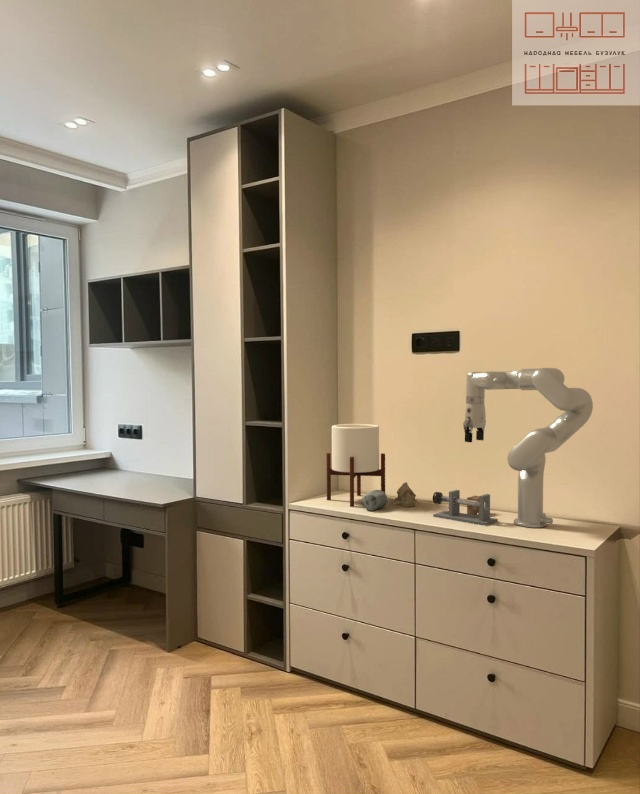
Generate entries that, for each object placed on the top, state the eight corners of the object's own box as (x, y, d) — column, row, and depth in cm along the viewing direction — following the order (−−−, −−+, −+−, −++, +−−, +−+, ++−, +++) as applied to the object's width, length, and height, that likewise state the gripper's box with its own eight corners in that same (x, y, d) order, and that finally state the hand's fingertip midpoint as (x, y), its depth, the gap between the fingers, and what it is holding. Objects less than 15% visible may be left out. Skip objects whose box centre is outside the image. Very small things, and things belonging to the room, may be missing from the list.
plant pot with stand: (359, 494, 310) (359, 423, 309) (389, 501, 292) (388, 426, 291) (322, 499, 298) (322, 425, 297) (351, 507, 279) (350, 428, 278)
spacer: (483, 512, 267) (483, 496, 267) (475, 515, 262) (475, 499, 262) (474, 511, 270) (474, 495, 269) (467, 514, 265) (467, 497, 265)
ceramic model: (391, 501, 294) (391, 480, 293) (415, 500, 294) (415, 479, 294) (396, 507, 280) (396, 485, 279) (421, 507, 280) (421, 485, 280)
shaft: (481, 509, 253) (481, 497, 253) (474, 511, 250) (474, 498, 249) (439, 502, 267) (439, 491, 267) (432, 504, 263) (432, 492, 263)
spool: (376, 505, 267) (371, 484, 271) (360, 513, 272) (355, 492, 276) (395, 508, 276) (389, 487, 281) (378, 515, 282) (373, 495, 286)
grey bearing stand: (497, 521, 251) (497, 494, 251) (485, 525, 244) (485, 497, 243) (446, 512, 268) (446, 487, 267) (433, 516, 260) (433, 490, 260)
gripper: (473, 402, 253) (472, 443, 254) (493, 400, 266) (492, 440, 267) (456, 401, 258) (455, 442, 259) (477, 399, 271) (476, 438, 272)
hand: (474, 441), depth 263 cm, fingers open, 9 cm apart
